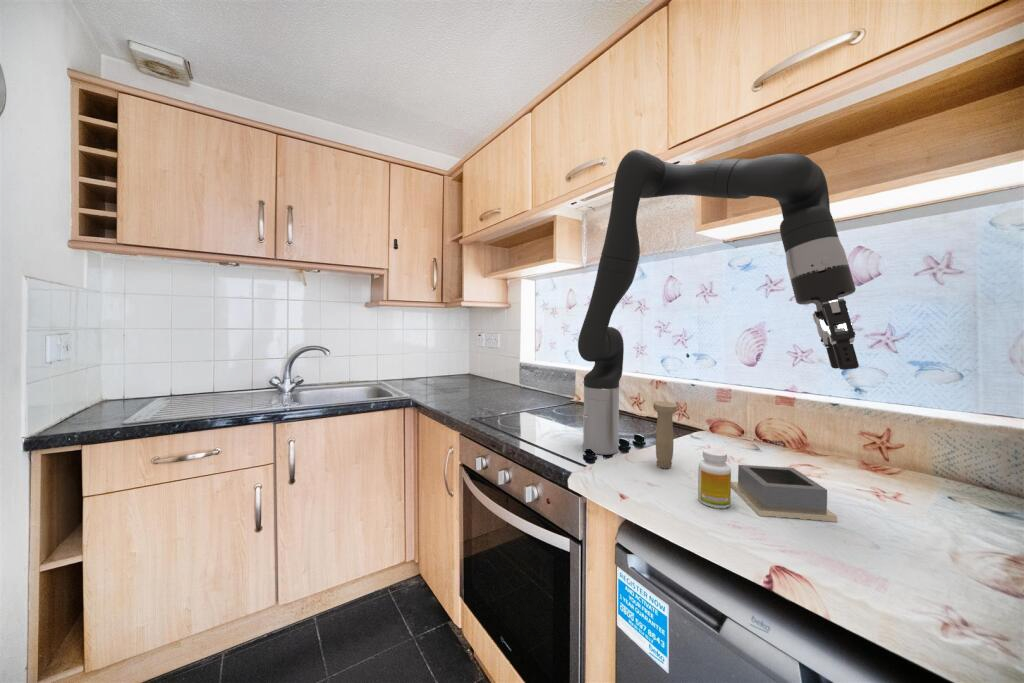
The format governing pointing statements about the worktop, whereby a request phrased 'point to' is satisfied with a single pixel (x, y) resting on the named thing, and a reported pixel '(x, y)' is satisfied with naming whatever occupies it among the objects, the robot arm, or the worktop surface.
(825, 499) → the gray open box
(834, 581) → the worktop surface
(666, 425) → the handle
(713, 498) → the supplement bottle
